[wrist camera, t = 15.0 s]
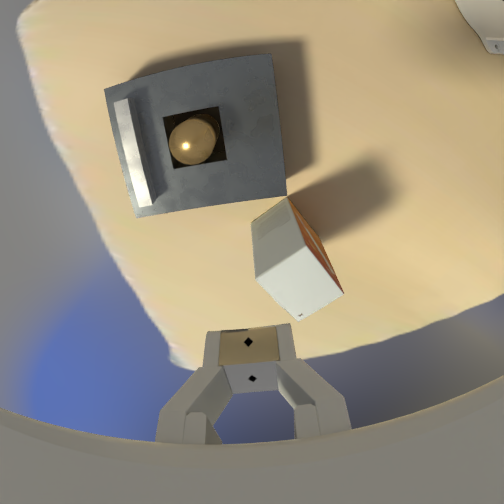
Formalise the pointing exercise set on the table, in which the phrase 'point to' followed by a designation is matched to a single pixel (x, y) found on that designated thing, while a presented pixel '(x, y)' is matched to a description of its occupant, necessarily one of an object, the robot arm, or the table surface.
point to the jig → (217, 164)
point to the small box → (292, 262)
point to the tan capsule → (194, 139)
